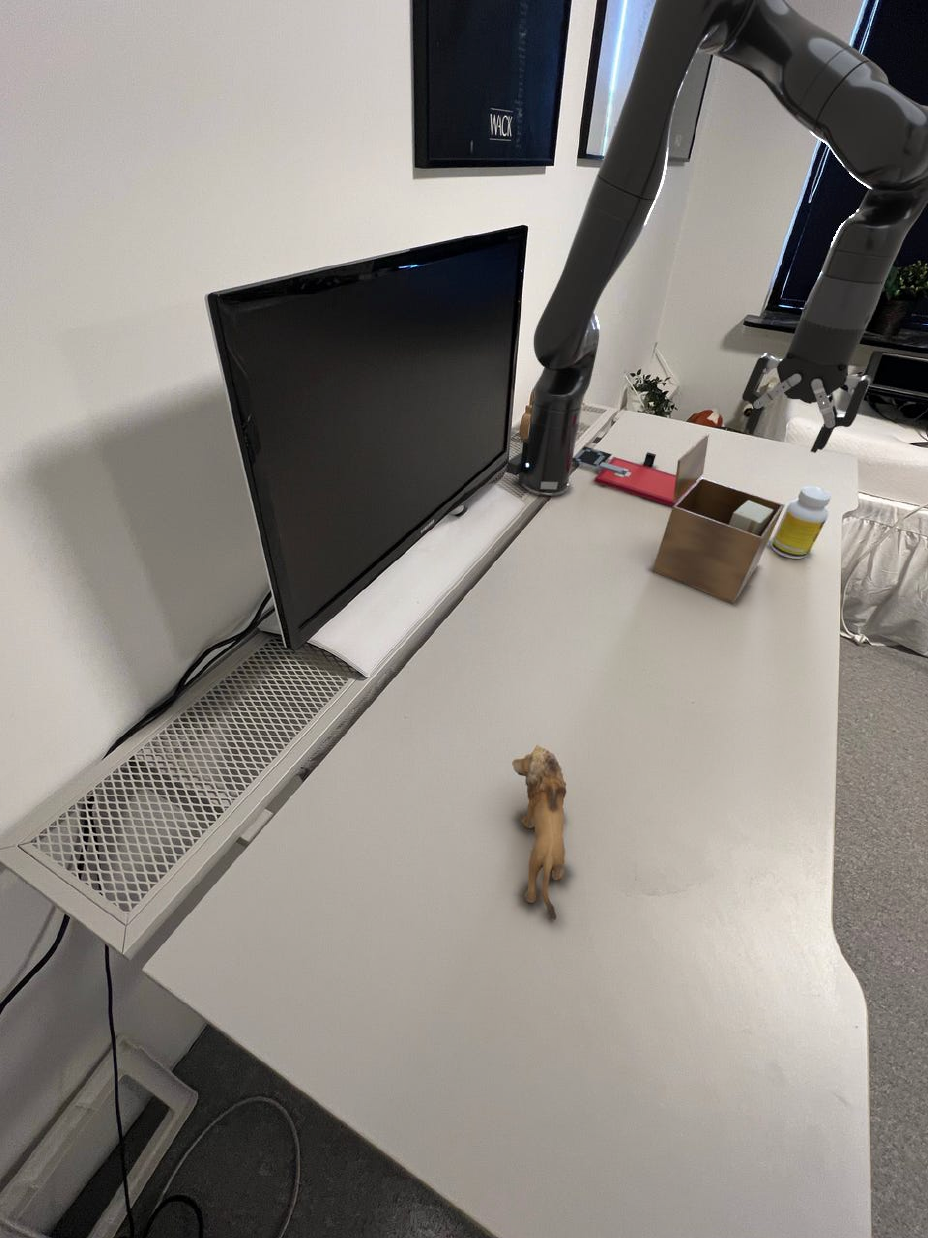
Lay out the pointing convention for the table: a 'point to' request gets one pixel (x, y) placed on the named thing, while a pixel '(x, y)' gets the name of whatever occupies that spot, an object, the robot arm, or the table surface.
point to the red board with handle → (630, 475)
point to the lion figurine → (544, 819)
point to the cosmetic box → (751, 518)
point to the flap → (690, 467)
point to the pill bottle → (801, 523)
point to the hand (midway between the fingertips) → (782, 441)
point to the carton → (712, 540)
